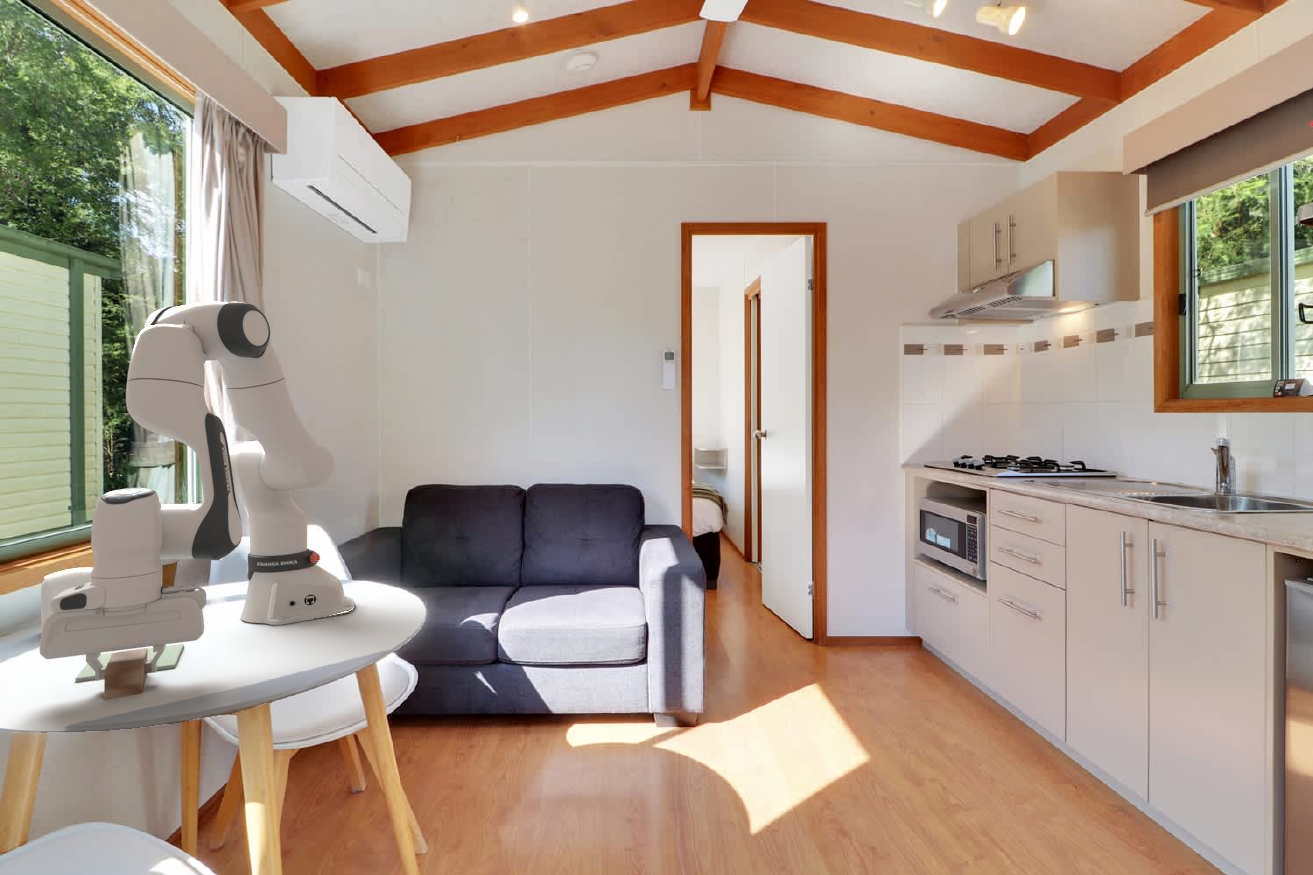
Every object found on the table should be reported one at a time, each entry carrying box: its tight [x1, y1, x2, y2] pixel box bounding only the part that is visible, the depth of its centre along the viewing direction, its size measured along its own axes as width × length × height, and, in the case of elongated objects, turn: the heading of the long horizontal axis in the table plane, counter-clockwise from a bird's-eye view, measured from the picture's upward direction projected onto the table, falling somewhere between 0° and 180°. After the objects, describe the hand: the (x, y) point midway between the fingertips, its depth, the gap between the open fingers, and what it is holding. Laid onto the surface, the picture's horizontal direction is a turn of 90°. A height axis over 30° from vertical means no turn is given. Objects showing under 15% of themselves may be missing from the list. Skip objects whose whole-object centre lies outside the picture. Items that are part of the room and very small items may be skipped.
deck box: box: [103, 647, 148, 700], centre depth 102 cm, size 4×9×4 cm, turn 35°
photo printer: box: [40, 566, 93, 630], centre depth 130 cm, size 10×4×12 cm, turn 140°
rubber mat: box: [75, 643, 185, 683], centre depth 112 cm, size 13×12×1 cm
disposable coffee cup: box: [160, 559, 180, 594], centre depth 148 cm, size 10×10×12 cm
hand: (126, 675), depth 102 cm, fingers closed on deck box, 5 cm apart
